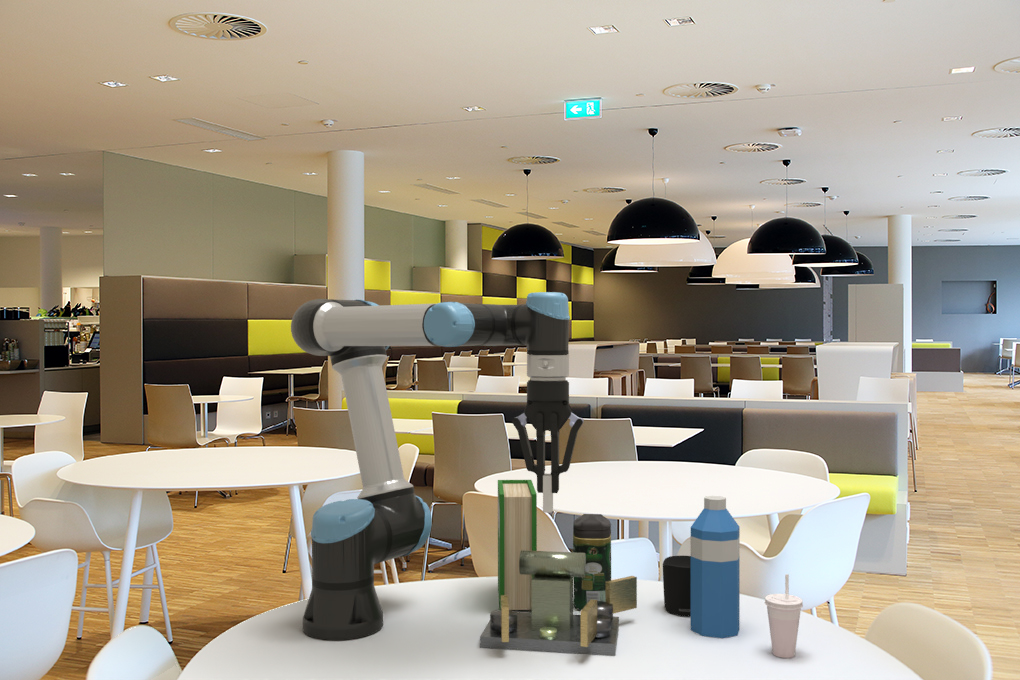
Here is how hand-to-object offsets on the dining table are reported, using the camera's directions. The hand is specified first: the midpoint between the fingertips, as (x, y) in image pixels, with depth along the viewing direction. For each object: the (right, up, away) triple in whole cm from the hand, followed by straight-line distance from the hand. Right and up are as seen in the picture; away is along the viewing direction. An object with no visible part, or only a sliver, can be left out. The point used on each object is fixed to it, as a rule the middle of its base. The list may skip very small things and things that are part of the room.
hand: (548, 511), depth 156 cm
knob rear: (+13, -22, +11) cm, 28 cm away
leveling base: (+1, -24, +6) cm, 25 cm away
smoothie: (+41, -25, -3) cm, 48 cm away
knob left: (-8, -22, +1) cm, 23 cm away
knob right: (+8, -22, -2) cm, 23 cm away
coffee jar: (+10, -25, +24) cm, 36 cm away
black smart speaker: (+29, -25, +21) cm, 43 cm away
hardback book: (-5, -25, +28) cm, 38 cm away
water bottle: (+32, -25, +9) cm, 41 cm away
